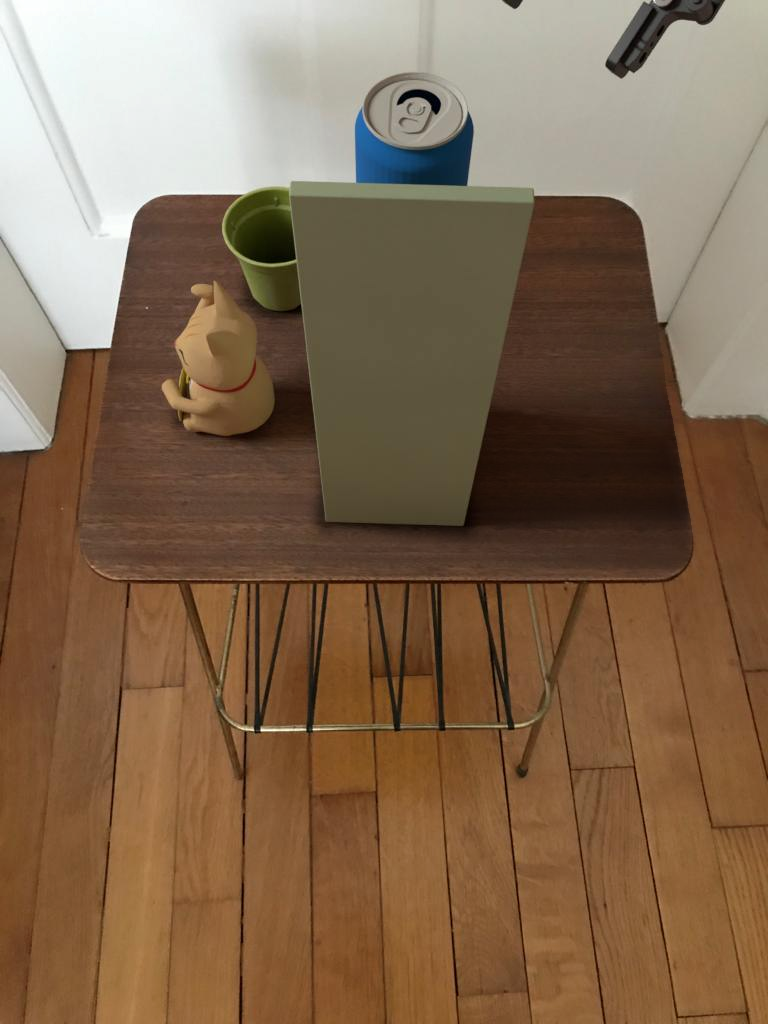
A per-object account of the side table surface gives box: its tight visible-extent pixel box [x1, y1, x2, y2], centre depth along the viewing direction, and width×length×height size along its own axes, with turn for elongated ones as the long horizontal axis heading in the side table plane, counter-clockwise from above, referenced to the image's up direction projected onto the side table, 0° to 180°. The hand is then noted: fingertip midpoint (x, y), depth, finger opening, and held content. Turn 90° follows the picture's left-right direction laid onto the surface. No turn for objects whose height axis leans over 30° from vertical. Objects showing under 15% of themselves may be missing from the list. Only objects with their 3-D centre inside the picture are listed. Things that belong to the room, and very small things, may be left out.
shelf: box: [289, 180, 536, 527], centre depth 64 cm, size 12×12×38 cm
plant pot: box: [221, 185, 301, 312], centre depth 85 cm, size 9×9×9 cm
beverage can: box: [354, 71, 475, 186], centre depth 53 cm, size 6×6×12 cm
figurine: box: [161, 280, 276, 437], centre depth 76 cm, size 9×10×15 cm
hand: (558, 37), depth 54 cm, fingers open, 8 cm apart
